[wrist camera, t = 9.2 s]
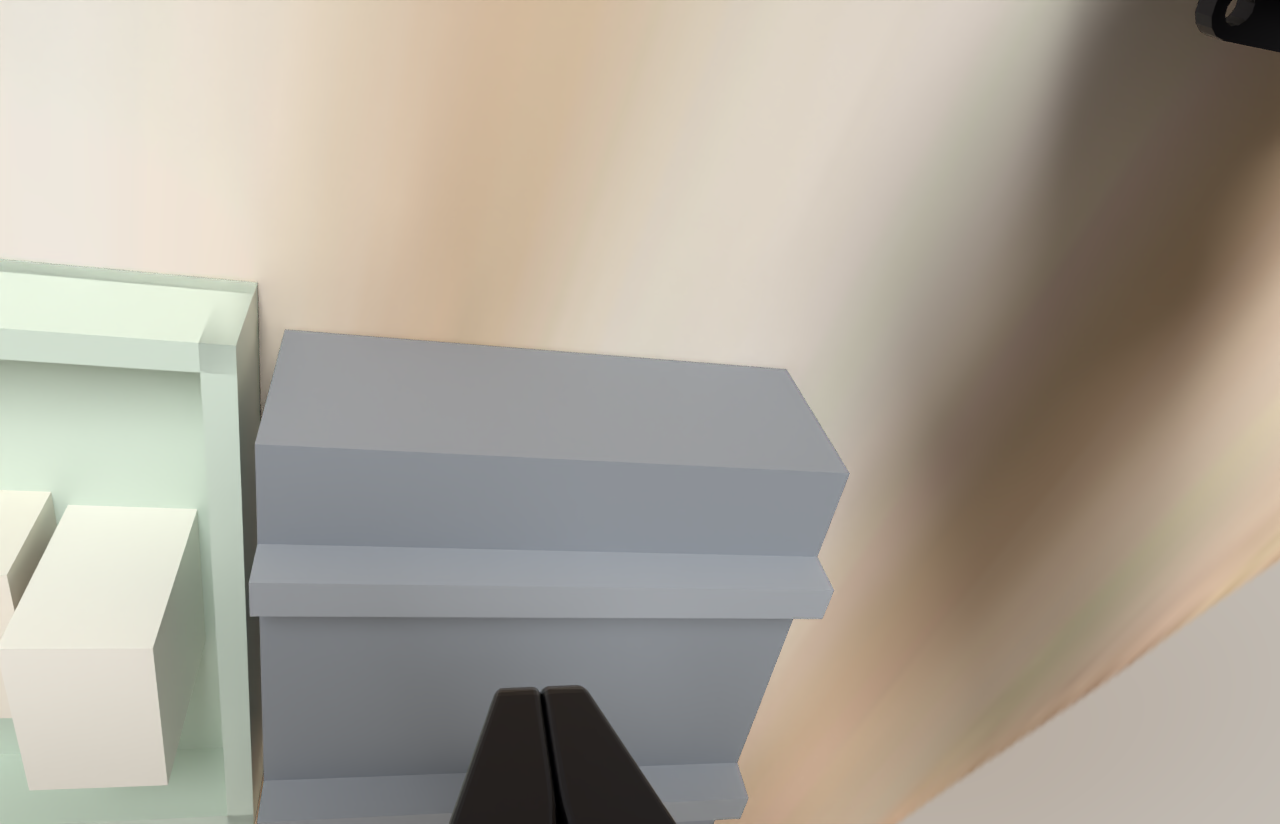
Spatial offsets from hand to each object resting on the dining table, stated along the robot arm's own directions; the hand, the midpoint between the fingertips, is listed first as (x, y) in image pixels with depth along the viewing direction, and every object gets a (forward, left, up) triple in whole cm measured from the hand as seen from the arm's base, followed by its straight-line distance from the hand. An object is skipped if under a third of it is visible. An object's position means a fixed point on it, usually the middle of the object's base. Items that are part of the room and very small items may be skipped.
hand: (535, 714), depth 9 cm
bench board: (-2, +9, -12) cm, 15 cm away
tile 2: (+5, +9, -9) cm, 14 cm away
